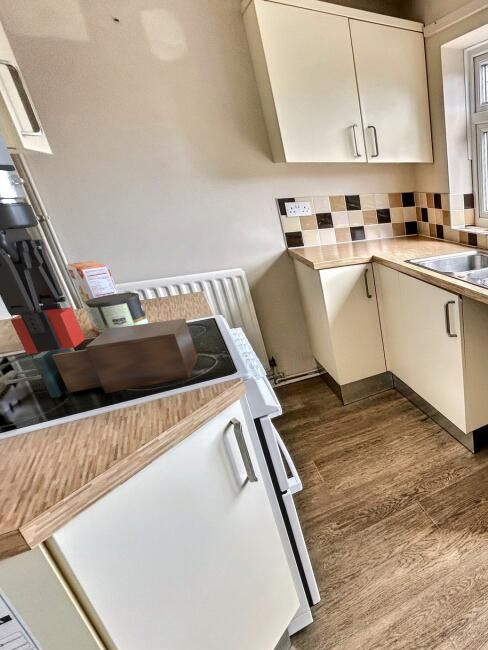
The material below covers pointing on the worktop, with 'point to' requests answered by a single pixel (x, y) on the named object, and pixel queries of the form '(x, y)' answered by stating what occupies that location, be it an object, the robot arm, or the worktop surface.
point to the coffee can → (117, 311)
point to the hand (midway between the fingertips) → (56, 344)
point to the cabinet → (143, 355)
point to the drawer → (61, 370)
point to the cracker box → (91, 283)
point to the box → (61, 323)
